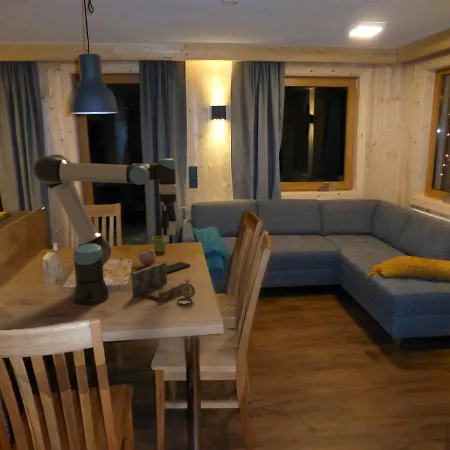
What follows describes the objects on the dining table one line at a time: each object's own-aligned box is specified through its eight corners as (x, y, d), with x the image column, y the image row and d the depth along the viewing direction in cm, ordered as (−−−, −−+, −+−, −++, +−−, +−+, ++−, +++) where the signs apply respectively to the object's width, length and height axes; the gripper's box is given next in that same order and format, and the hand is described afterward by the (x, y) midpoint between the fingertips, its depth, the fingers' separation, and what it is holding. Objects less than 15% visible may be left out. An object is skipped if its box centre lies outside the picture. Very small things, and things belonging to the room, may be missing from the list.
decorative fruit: (158, 263, 232) (157, 246, 230) (154, 268, 224) (153, 250, 222) (141, 263, 233) (141, 246, 231) (137, 268, 225) (136, 250, 223)
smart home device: (152, 270, 217) (180, 261, 232) (152, 273, 218) (180, 264, 233) (162, 273, 212) (190, 264, 227) (162, 276, 212) (190, 267, 227)
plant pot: (162, 248, 263) (162, 235, 261) (170, 251, 256) (170, 237, 254) (149, 251, 257) (149, 237, 256) (157, 254, 250) (157, 240, 249)
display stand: (157, 304, 177) (156, 279, 175) (132, 296, 186) (131, 272, 183) (187, 290, 193) (187, 267, 191) (164, 283, 201) (163, 261, 199)
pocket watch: (178, 306, 174) (177, 284, 172) (175, 299, 182) (174, 277, 180) (197, 304, 176) (196, 282, 174) (193, 297, 184) (193, 275, 182)
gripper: (169, 197, 177) (171, 245, 181) (181, 189, 201) (182, 232, 205) (152, 197, 177) (154, 245, 182) (165, 189, 201) (167, 232, 206)
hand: (169, 238), depth 194 cm, fingers open, 13 cm apart
